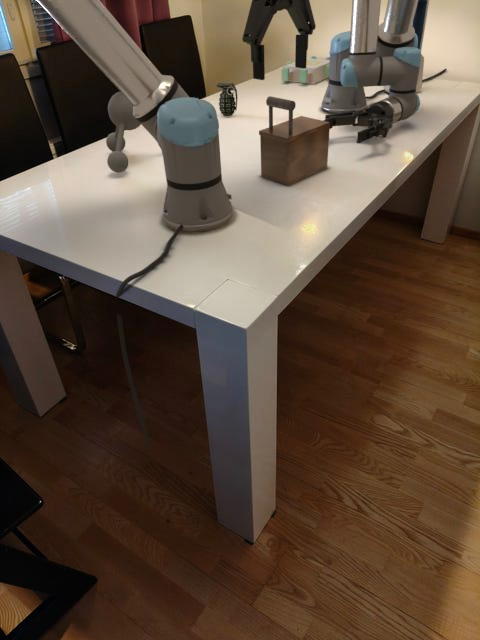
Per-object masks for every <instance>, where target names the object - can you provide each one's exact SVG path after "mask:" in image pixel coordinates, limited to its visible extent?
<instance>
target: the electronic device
mask: <svg viewBox="0 0 480 640" xmlns="http://www.w3.org/2000/svg"><path fill="white" fill-rule="evenodd" d="M429 5H430V0H418V3H417V7H416V11H415V15H414V19H413V23H412V26H413V27H414V30H415V33H416V35H417V37H418V46H417V48H418V49H420V51H421V52H422V49H423V42H424V36H425V29H426V24H427V18H428V17H427V16H428V11H429ZM424 65H425V57H424V55H423V54H422V53H421V61H420V69H419V74H418V80H417V86H416V93H419V92H420V91H421V90H422V88H423V82H422V80H423V79H424V77H423V76H424ZM382 89H383V90H385V91H384V92H386V93H388V94H389V92H390V91H389V89H390V86H382Z"/></svg>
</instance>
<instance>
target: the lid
mask: <svg viewBox="0 0 480 640" xmlns="http://www.w3.org/2000/svg"><path fill="white" fill-rule="evenodd" d="M265 104H266V106H267V107H268V127H265V128H263V129H260V130H258V135H259V136H260V135H262V136H265V137H269V138H273V139H276V140H280V141H284V142H287V143H288V142H290V141H293V140H295V139H298V138H301V137H303V136H306V135H308V134H311V133H313V132H316V131H319V130H321V129H324V128H326V127H329V126H330V122H326V121H323V120H321V119H318V118H312V117H308V116H303V115H300V116H296V117H294V110H295V109H296V105H297V103H296V101H295V100H291V99H286V98H281V97H276V96H272V95H271V96H270V95H269V96H267V98H266V101H265ZM274 108H276V109H280V110H284V111H288V120H285V121H282V122H280V123H277V124H275V125H274Z"/></svg>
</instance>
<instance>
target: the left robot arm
mask: <svg viewBox="0 0 480 640" xmlns="http://www.w3.org/2000/svg"><path fill="white" fill-rule="evenodd" d="M36 1H37V2H38V3H39V4H40V5H41V6H42V7H43V9H44V10H45V11H46V12H47V13H48V14H49V15H50V16H51V18H53V19H54V20H55V22H56V23H57V24H58V25H59V26H60V27H61V29H62V30H64V32H66V34H67V35H68V36H69V37H70V38H71V39H72V40H73V42H75V44H76V45H78V47H79V48H80V49H81V50H82V51H83V52H84V54H86V56H88V58H89V59H90V60H91V61H92V62H93V63H94V64H95V65H96V67H98V68H99V70H100V71H101V72H102V73H103V74H104V75H105V76H106V77H107V78H108V79H109V81H110V82H112V84H113V85H114V86H115V87H116V88H117V89H118V90H119V92H120V91H121V92H122V93H123V94H124V96H125V97H126V98H127V99H128V100H129V101H130V102H131V103H132V105H133V116H134V117H135V118H136V119H137V120H138V121H139V122H140V123H141V126H142V127H143V128H144V129H145V131H147V132H148V133H149V135H150V136H151V137H152V138H153V139H154V140H155V141H156V143H157V145H158V146H159V148H160V150H161V154H162V159H163V168H164V174H165V180H166V190H165V191H166V192H165V196H164V203H163V207H162V218H163V222H164V224H165V226H167V227H168V228H169V229H171V230H173V231H174V232H173V234H171V237H170V238H169V240H167V242H166V245H165V248H164V250H163V252H162V253H161V255H160V256H159V257H157V258H156V259H155V260H154V261H153V262H151V263H150V264H149V265H147V266H146V267H144V268H143V269H142V270H140V271H138V272H135V273H132V274H131V275H129V276H127V277H126V278H125V279H124V280H123V281H122V282H121V283H120V285H119V287H118V289H117V291H116V294H115V297H116V298H120V297H121V296H122V293H123V291H124V289H125V287H126V286H127V285H128V284H129V283H130V282H132V281H133V280H135V279H137V278H140V277H142V276H144V275H145V274H147V273H148V272H150V271H151V270H152V269H153V268H155V267H156V266H157V265H158V264H160V263H161V262H162V261H163V260H164V259H165V257H166V256H167V255H168V253H169V251H170V249H171V246H172V244H173V242H175V241H174V240H175V239H176V238H177V237H178V235H179V234H180V233H190V234H191V233H192V234H193V233H194V234H195V233H196V234H197V233H205V232H206V233H207V232H210V231H215V230H216V229H220V228H222V227H224V226H226V225H227V224H228V223H230V221H231V220H232V218H233V216H234V212H233V211H234V210H233V205H232V201H231V200H233V199H232V198H233V197H232V194H229V193H228V192H227V190H226V187H225V184H224V182H223V175H222V174H223V173H222V161H221V159H222V158H221V147H220V146H221V145H220V133H219V131H220V130H219V129H220V124H219V123H220V122H219V118H218V114H217V110H216V108H215V106H214V105H213V104H212V103H211V102H210V101H208V100H205V99H199V97H190V96H189V95H188V93H187V92H186V91H185V90H184V88H182V86H181V85H180V83H178V81H177V80H176V78H174V76H172V75H166V74H162V73H161V72H160V71H159V70H158V68H157V67H156V66H155V65H154V63H153V62H152V61H151V60H150V59H149V58H148V57H147V56H146V54H145V53H144V52H143V51H142V50H141V48H140V47H139V46H138V45H137V43H136V42H135V41H134V40H133V39H132V37H131V36H130V35H129V34H128V32H127V31H126V30H125V29H124V28H123V26H122V25H121V24H120V23H119V22H118V21H117V19H116V18H115V17H114V16H113V14H112V13H111V12H110V11H109V9H107V7H106V6H105V5H104V4H103V2H101V0H36ZM250 3H251V4H250V7H249V11H248V14H247V18H246V23H245V26H244V30H243V34H242V38H241V39H242V42H243V43H246V45H249V47H250V61H251V63H252V79H254V80H259V81H265V79H266V74H265V71H266V69H265V44H262V42H263V40H264V38H265V36H266V33H267V31H268V29H269V27H270V25H271V22H272V20H273V18H274V16H275V15H276V14H277V13H278V12H281V11H283V10H286V12H287V13H288V15H289V17H290V18H291V21H292V23H293V24H294V27H295V29H296V30H297V32H298V34H295V51H294V56H295V57H294V62H295V67H296V68H303V69H305V68H306V61H307V59H308V58H307V57H308V49H309V35H310V36H311V35H313V33H314V30H316V26H317V25H316V22H315V18H314V13H313V9H312V6H311V2H310V0H251V2H250ZM122 317H123V316H122V314H118V313H116V319H117V326H118V335H119V342H120V347H121V348H120V349H121V353H122V359H123V363H124V367H125V368H124V369H125V373H126V376H127V380H128V384H129V387H130V391H131V394H132V398H133V401H134V405H135V409H136V413H137V416H138V419H139V423H140V426H141V430H142V433H143V437H144V442H145V446H146V448H147V449H150V448H151V442H150V438H149V434H148V431H147V427H146V422H145V419H144V415H143V412H142V409H141V405H140V402H139V398H138V394H137V391H136V386H135V383H134V380H133V376H132V370H131V366H130V361H129V357H128V353H127V346H126V340H125V339H126V338H125V333H124V325H123V318H122Z"/></svg>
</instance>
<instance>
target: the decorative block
mask: <svg viewBox="0 0 480 640" xmlns="http://www.w3.org/2000/svg"><path fill="white" fill-rule="evenodd" d="M329 63H330V56H327V57H322V56H315V55H312V56H311V57H308V58H307V61H306V68H305V69H303V68H296V67H295V61H287V62H286V65H283V67H281V81H282V82H283V81H284V82H292V83H302V84H310V85H316V84H317V83H320V82H321V81H323V80H326V79H329Z"/></svg>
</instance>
